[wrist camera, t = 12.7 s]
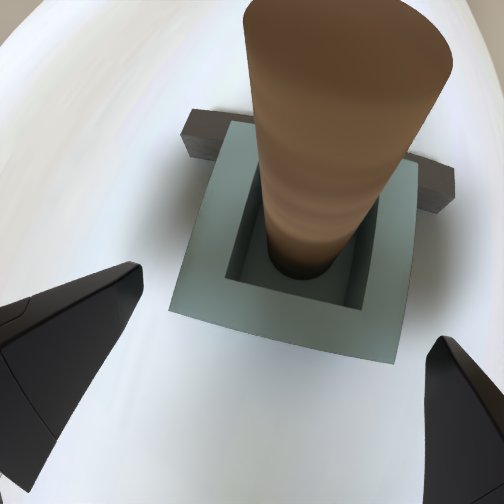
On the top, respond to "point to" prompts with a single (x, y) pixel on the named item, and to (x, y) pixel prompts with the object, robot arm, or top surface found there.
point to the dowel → (334, 114)
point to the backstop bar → (217, 123)
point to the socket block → (290, 290)
